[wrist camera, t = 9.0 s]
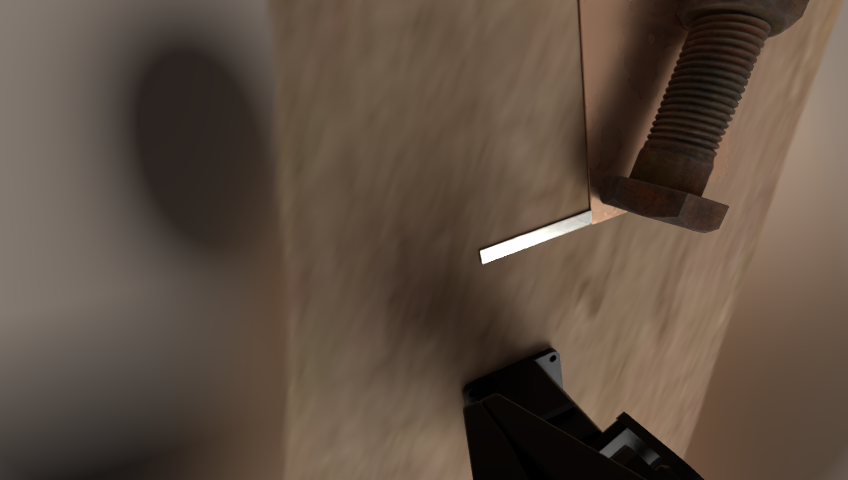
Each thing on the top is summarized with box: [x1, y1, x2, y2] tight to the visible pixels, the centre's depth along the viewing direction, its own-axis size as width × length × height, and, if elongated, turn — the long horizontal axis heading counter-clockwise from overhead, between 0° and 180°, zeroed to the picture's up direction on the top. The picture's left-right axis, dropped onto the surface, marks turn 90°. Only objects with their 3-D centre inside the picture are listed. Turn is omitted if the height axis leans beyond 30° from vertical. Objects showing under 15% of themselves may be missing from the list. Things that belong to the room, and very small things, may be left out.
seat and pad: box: [479, 0, 732, 264], centre depth 20 cm, size 19×17×1 cm
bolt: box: [599, 0, 809, 233], centre depth 20 cm, size 6×5×15 cm
